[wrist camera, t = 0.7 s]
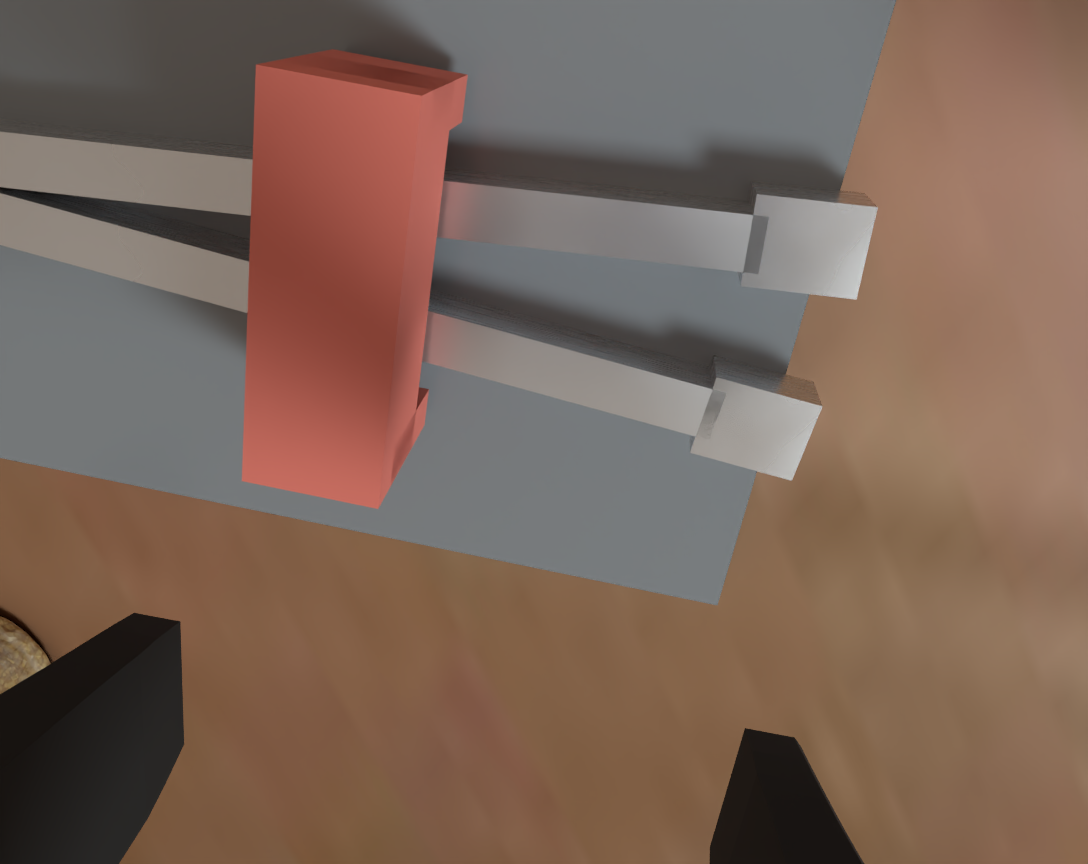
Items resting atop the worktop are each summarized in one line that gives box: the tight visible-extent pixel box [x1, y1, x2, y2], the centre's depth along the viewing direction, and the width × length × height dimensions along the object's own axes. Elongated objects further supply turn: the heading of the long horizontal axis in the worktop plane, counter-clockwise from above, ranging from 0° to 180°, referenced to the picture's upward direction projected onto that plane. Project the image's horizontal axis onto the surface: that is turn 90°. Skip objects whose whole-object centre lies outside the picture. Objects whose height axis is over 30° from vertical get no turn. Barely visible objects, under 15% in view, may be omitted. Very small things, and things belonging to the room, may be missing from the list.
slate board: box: [0, 0, 896, 605], centre depth 19 cm, size 20×13×1 cm, turn 81°
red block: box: [242, 49, 468, 509], centre depth 17 cm, size 2×7×4 cm, turn 171°
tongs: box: [0, 119, 878, 481], centre depth 18 cm, size 21×5×1 cm, turn 81°
